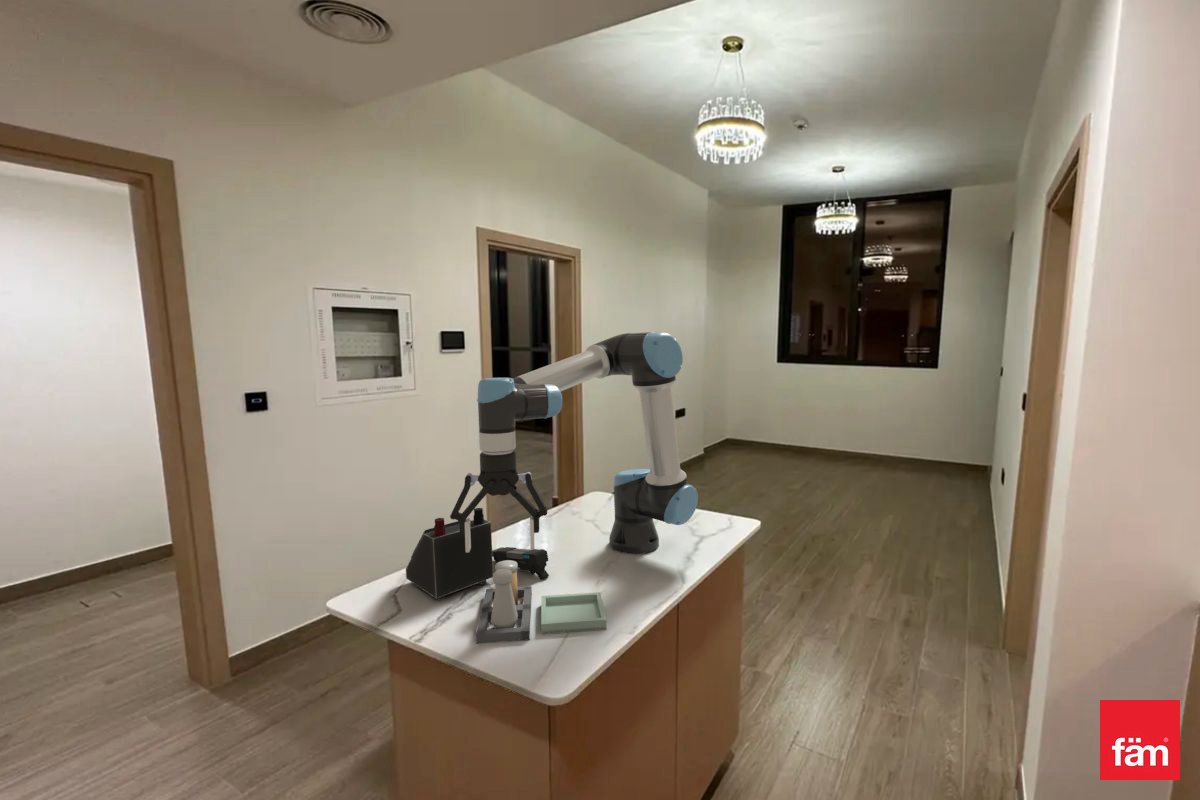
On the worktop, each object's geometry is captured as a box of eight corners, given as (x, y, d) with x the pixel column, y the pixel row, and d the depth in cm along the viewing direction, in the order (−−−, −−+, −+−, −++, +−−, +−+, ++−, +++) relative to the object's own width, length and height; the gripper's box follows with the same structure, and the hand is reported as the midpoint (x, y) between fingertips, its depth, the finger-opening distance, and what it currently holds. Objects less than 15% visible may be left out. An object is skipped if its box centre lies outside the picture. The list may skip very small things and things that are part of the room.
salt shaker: (493, 622, 120) (490, 566, 119) (518, 620, 121) (516, 564, 120) (489, 636, 115) (487, 577, 113) (517, 634, 115) (514, 576, 114)
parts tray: (600, 600, 129) (600, 592, 129) (606, 629, 117) (606, 619, 116) (541, 604, 128) (541, 595, 128) (541, 634, 115) (541, 624, 115)
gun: (541, 582, 140) (531, 544, 141) (497, 586, 153) (489, 551, 154) (554, 576, 143) (544, 539, 144) (510, 581, 156) (501, 546, 157)
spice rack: (531, 593, 134) (530, 554, 133) (529, 639, 113) (527, 593, 112) (486, 596, 133) (485, 556, 132) (476, 643, 112) (473, 596, 111)
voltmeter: (461, 564, 152) (457, 495, 150) (493, 582, 141) (490, 508, 139) (406, 583, 141) (401, 509, 139) (436, 604, 130) (432, 523, 127)
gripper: (556, 446, 119) (558, 539, 121) (440, 449, 116) (444, 545, 118) (557, 452, 111) (559, 552, 113) (433, 456, 109) (437, 558, 111)
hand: (500, 548), depth 116 cm, fingers open, 13 cm apart
